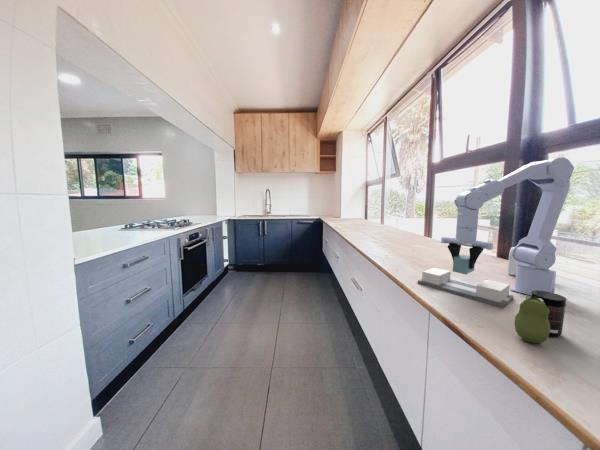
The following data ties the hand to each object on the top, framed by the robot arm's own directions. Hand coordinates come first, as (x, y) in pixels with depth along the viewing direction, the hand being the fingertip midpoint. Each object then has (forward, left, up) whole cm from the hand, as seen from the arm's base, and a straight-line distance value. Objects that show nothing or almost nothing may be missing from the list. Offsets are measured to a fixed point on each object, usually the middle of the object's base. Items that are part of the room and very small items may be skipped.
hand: (463, 266), depth 81 cm
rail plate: (0, 0, -8) cm, 8 cm away
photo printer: (-9, -37, -9) cm, 39 cm away
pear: (-21, +21, -9) cm, 31 cm away
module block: (0, 0, -2) cm, 2 cm away
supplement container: (-22, +13, -9) cm, 27 cm away
